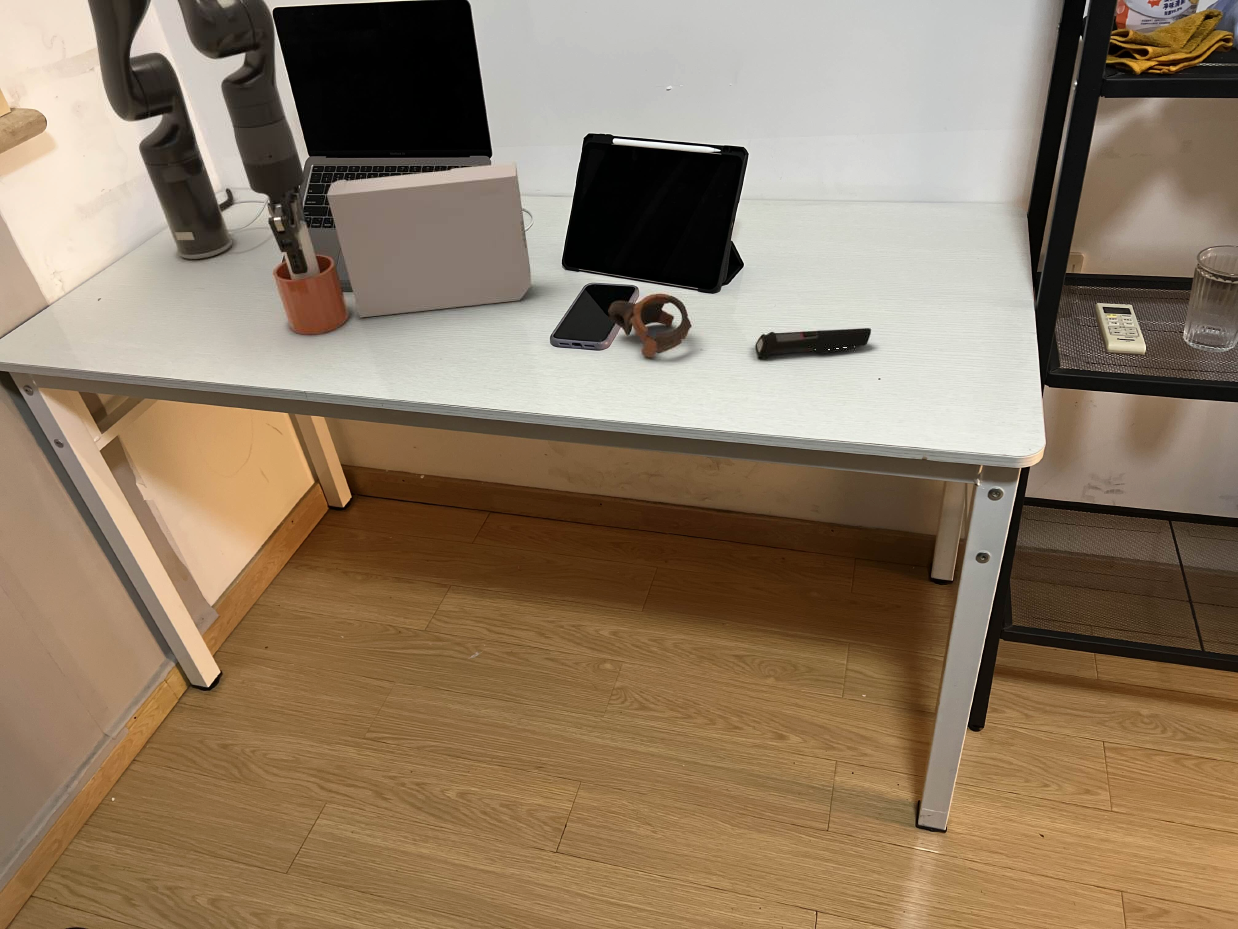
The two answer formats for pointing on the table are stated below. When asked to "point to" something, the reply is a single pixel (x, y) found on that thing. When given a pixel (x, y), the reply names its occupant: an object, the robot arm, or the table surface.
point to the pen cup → (312, 298)
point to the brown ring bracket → (651, 321)
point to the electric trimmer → (811, 341)
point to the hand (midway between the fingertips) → (302, 264)
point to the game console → (433, 239)
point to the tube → (308, 254)
